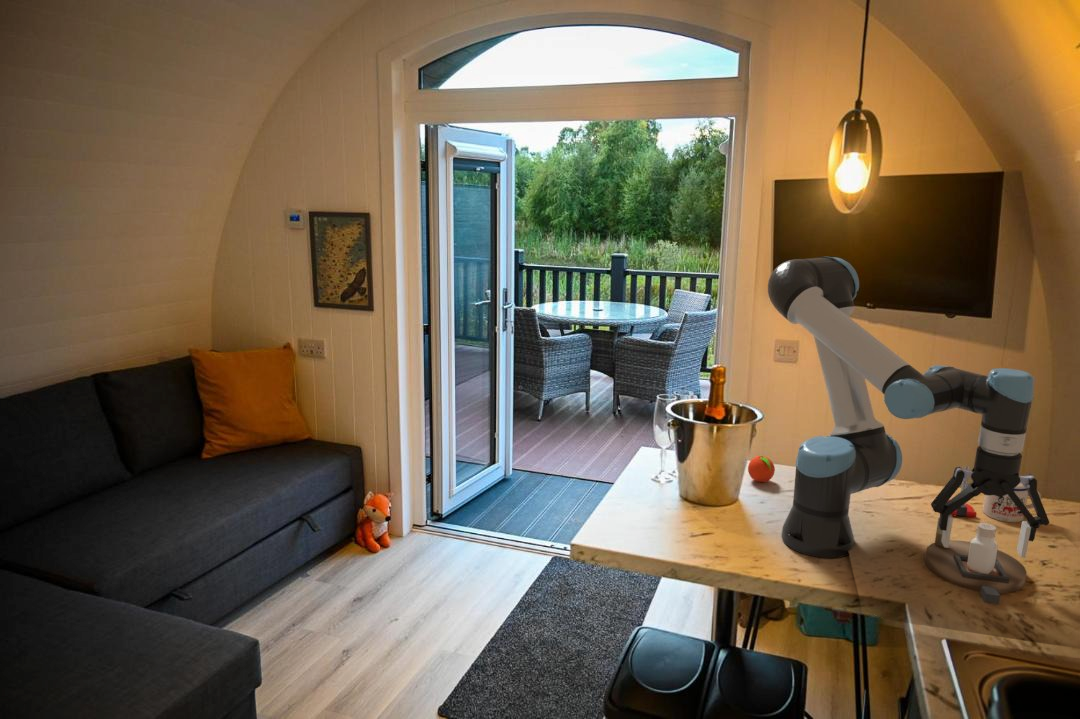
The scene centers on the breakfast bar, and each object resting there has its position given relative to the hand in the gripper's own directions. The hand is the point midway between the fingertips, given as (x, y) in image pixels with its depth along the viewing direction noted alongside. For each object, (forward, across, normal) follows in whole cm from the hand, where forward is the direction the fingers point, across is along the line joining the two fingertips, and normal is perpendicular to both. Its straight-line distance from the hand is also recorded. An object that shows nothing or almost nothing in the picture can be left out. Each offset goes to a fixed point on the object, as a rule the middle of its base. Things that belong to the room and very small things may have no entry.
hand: (982, 549), depth 150 cm
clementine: (+8, -42, +42) cm, 60 cm away
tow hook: (+8, +4, +38) cm, 39 cm away
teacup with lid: (+8, +16, +38) cm, 42 cm away
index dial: (+6, 0, +4) cm, 8 cm away
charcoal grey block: (+8, 0, -8) cm, 11 cm away
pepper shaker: (+5, 0, 0) cm, 5 cm away
